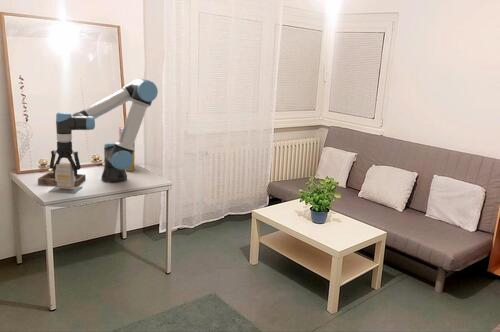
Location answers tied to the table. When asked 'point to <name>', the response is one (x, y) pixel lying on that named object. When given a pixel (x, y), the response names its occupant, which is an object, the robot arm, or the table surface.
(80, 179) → the brown wooden tray
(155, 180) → the table surface
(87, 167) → the table surface
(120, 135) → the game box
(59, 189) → the rubber mat
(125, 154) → the robot arm
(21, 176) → the table surface
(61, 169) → the supplement box
